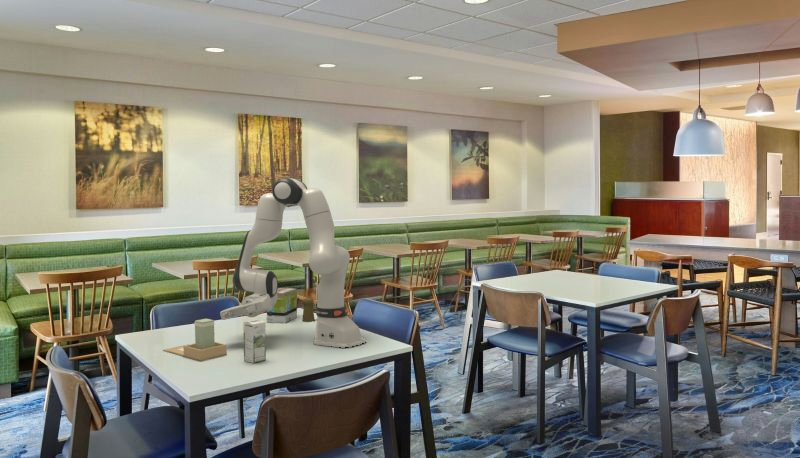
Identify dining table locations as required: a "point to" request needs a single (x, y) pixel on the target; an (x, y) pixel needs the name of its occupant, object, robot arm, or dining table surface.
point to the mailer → (199, 351)
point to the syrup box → (254, 341)
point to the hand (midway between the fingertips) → (235, 313)
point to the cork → (308, 310)
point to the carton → (204, 334)
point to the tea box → (284, 306)
